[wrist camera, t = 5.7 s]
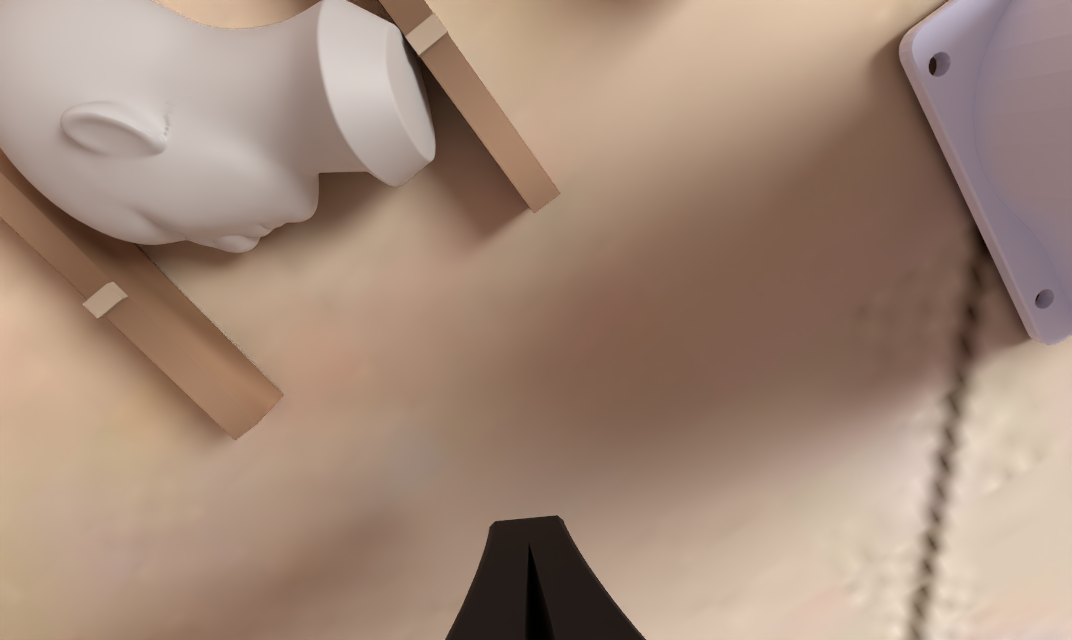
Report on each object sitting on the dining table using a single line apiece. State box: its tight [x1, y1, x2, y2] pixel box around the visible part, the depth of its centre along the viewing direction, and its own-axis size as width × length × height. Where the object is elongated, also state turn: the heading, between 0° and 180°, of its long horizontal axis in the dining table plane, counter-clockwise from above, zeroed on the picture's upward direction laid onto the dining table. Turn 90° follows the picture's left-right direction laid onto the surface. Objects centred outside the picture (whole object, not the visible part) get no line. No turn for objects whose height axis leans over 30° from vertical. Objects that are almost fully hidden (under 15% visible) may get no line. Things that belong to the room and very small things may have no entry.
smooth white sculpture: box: [0, 0, 435, 253], centre depth 11 cm, size 4×8×5 cm
